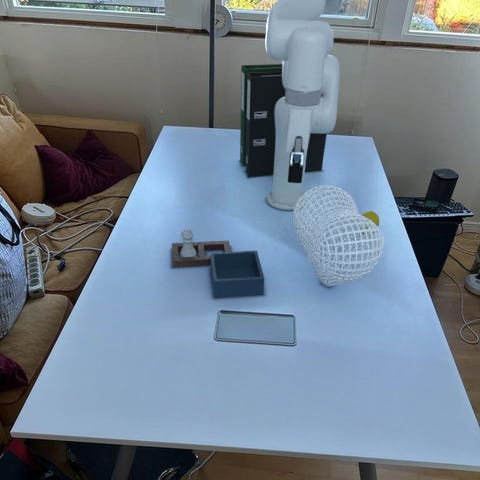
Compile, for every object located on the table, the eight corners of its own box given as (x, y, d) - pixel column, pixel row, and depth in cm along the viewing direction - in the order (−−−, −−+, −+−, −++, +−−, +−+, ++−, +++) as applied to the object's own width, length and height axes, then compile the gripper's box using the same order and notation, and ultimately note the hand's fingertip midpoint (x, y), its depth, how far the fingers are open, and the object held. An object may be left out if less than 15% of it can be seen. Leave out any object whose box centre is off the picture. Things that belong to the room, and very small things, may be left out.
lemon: (375, 242, 133) (382, 217, 128) (356, 239, 134) (361, 214, 128) (375, 232, 137) (381, 207, 132) (356, 230, 138) (361, 205, 132)
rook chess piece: (199, 254, 127) (198, 228, 121) (193, 263, 124) (191, 237, 118) (184, 251, 128) (182, 225, 122) (177, 260, 125) (175, 234, 119)
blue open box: (210, 269, 122) (210, 252, 118) (256, 266, 123) (256, 250, 120) (214, 298, 113) (213, 281, 110) (263, 295, 114) (264, 278, 111)
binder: (310, 155, 177) (321, 62, 156) (322, 172, 167) (336, 74, 145) (240, 160, 173) (241, 65, 152) (248, 178, 162) (251, 77, 141)
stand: (172, 249, 128) (171, 243, 127) (228, 246, 130) (228, 240, 129) (172, 267, 122) (172, 261, 121) (232, 264, 124) (232, 258, 122)
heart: (280, 256, 127) (287, 178, 112) (333, 249, 130) (347, 173, 115) (317, 324, 107) (331, 240, 92) (379, 314, 110) (403, 232, 95)
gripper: (286, 84, 106) (281, 157, 117) (283, 108, 93) (277, 188, 104) (320, 85, 105) (311, 159, 117) (321, 110, 92) (310, 191, 104)
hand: (295, 173), depth 111 cm, fingers open, 9 cm apart
